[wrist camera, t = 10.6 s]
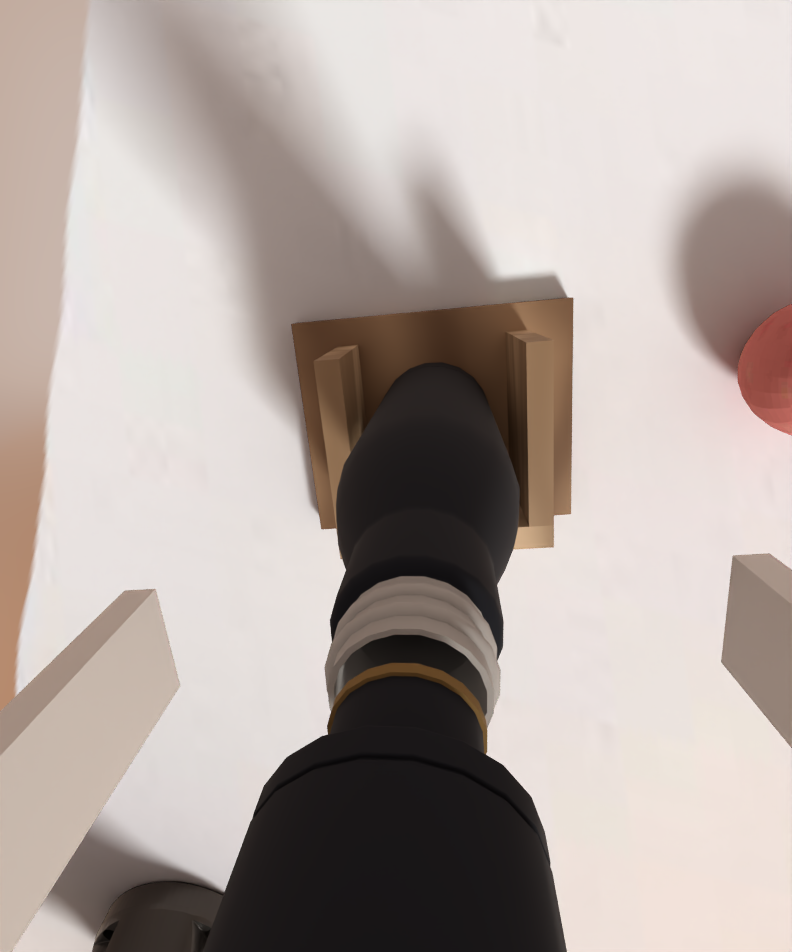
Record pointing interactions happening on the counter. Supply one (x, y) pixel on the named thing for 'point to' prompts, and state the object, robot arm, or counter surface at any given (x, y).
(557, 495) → the u rest
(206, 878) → the counter surface
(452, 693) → the wine bottle
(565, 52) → the counter surface
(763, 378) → the apple
